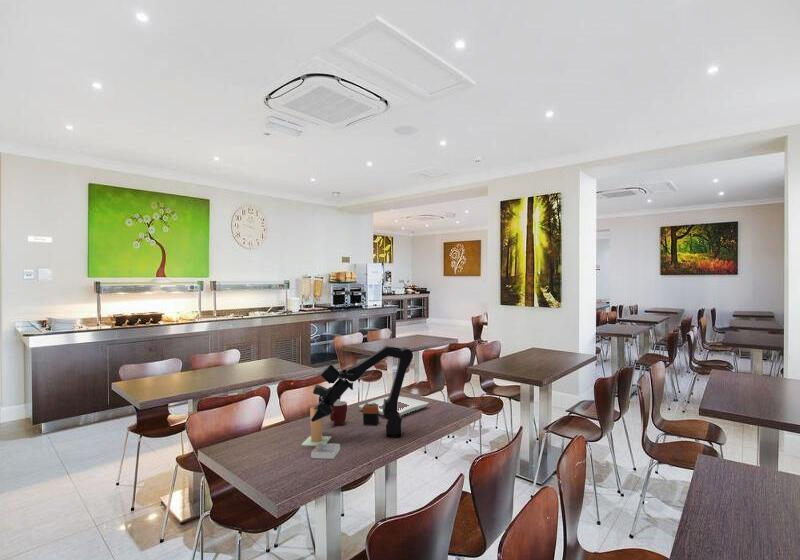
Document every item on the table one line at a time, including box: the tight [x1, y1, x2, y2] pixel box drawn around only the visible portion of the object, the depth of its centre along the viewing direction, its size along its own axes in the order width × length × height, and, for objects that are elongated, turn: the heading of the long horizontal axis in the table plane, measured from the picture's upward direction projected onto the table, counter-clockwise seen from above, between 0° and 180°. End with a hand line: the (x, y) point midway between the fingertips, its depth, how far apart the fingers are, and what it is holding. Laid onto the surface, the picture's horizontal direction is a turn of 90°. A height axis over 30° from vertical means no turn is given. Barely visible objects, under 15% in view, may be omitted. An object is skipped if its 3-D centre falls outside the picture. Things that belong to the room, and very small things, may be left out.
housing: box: [310, 442, 341, 460], centre depth 173 cm, size 9×9×2 cm
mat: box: [301, 435, 332, 447], centre depth 187 cm, size 10×10×1 cm
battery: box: [362, 402, 380, 426], centre depth 208 cm, size 4×7×10 cm, turn 77°
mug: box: [329, 400, 348, 426], centre depth 208 cm, size 10×8×10 cm
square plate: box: [358, 395, 429, 417], centre depth 229 cm, size 27×27×4 cm
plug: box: [309, 405, 323, 442], centre depth 187 cm, size 5×5×15 cm
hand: (312, 417), depth 187 cm, fingers open, 9 cm apart
